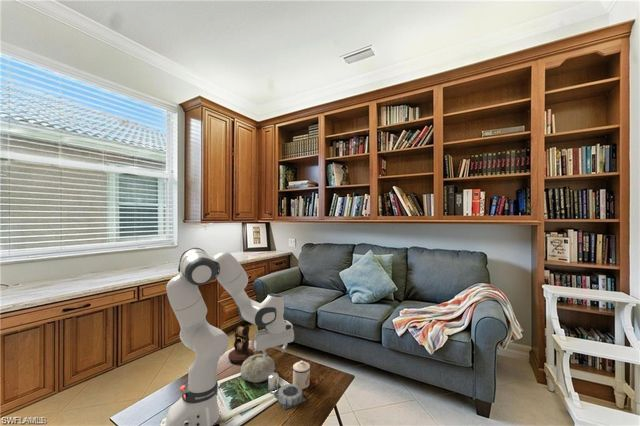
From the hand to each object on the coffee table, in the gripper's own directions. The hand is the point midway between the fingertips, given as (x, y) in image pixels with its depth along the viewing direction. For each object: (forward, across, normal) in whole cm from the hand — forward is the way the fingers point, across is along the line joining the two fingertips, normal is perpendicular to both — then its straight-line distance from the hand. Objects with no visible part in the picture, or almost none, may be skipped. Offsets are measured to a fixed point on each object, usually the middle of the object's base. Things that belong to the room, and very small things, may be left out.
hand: (274, 354), depth 131 cm
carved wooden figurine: (+18, -6, +37) cm, 41 cm away
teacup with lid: (+18, +14, -2) cm, 23 cm away
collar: (+17, +4, -10) cm, 20 cm away
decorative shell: (+18, -4, +14) cm, 23 cm away
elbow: (+17, 0, 0) cm, 17 cm away
